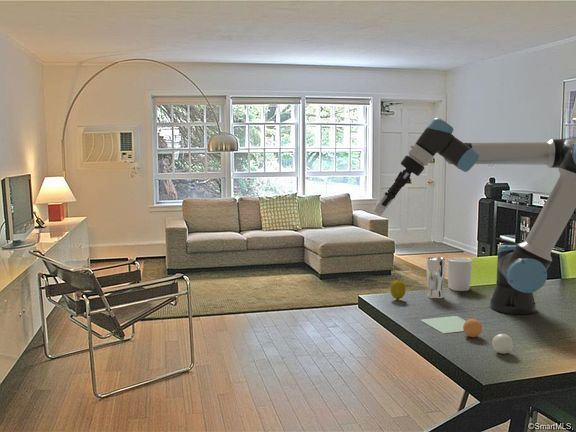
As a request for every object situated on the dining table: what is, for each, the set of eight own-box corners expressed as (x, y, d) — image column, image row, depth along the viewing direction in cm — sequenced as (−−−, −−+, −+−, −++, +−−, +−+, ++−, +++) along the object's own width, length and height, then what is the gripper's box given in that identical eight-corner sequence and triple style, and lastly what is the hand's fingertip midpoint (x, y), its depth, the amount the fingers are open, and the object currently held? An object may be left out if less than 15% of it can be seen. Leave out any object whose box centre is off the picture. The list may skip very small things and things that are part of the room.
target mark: (456, 316, 191) (456, 315, 191) (481, 329, 177) (481, 328, 177) (419, 320, 187) (419, 319, 187) (443, 333, 173) (443, 333, 173)
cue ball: (504, 348, 161) (504, 330, 160) (517, 355, 155) (518, 336, 155) (487, 350, 159) (488, 332, 158) (500, 357, 154) (501, 338, 153)
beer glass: (434, 300, 211) (435, 261, 209) (421, 295, 217) (423, 257, 215) (448, 297, 214) (449, 259, 212) (435, 293, 220) (436, 256, 218)
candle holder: (442, 285, 232) (443, 257, 230) (465, 285, 233) (466, 256, 231) (451, 291, 222) (452, 262, 221) (475, 291, 223) (476, 261, 221)
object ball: (474, 332, 174) (475, 315, 173) (485, 338, 169) (486, 321, 168) (459, 334, 172) (459, 317, 172) (469, 340, 167) (470, 322, 166)
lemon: (405, 302, 207) (405, 281, 206) (390, 301, 208) (390, 280, 207) (405, 298, 213) (405, 278, 212) (390, 297, 214) (390, 277, 213)
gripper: (406, 153, 199) (371, 201, 203) (407, 154, 174) (366, 208, 179) (423, 166, 198) (387, 213, 203) (427, 168, 174) (386, 222, 178)
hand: (377, 211), depth 191 cm, fingers open, 13 cm apart
